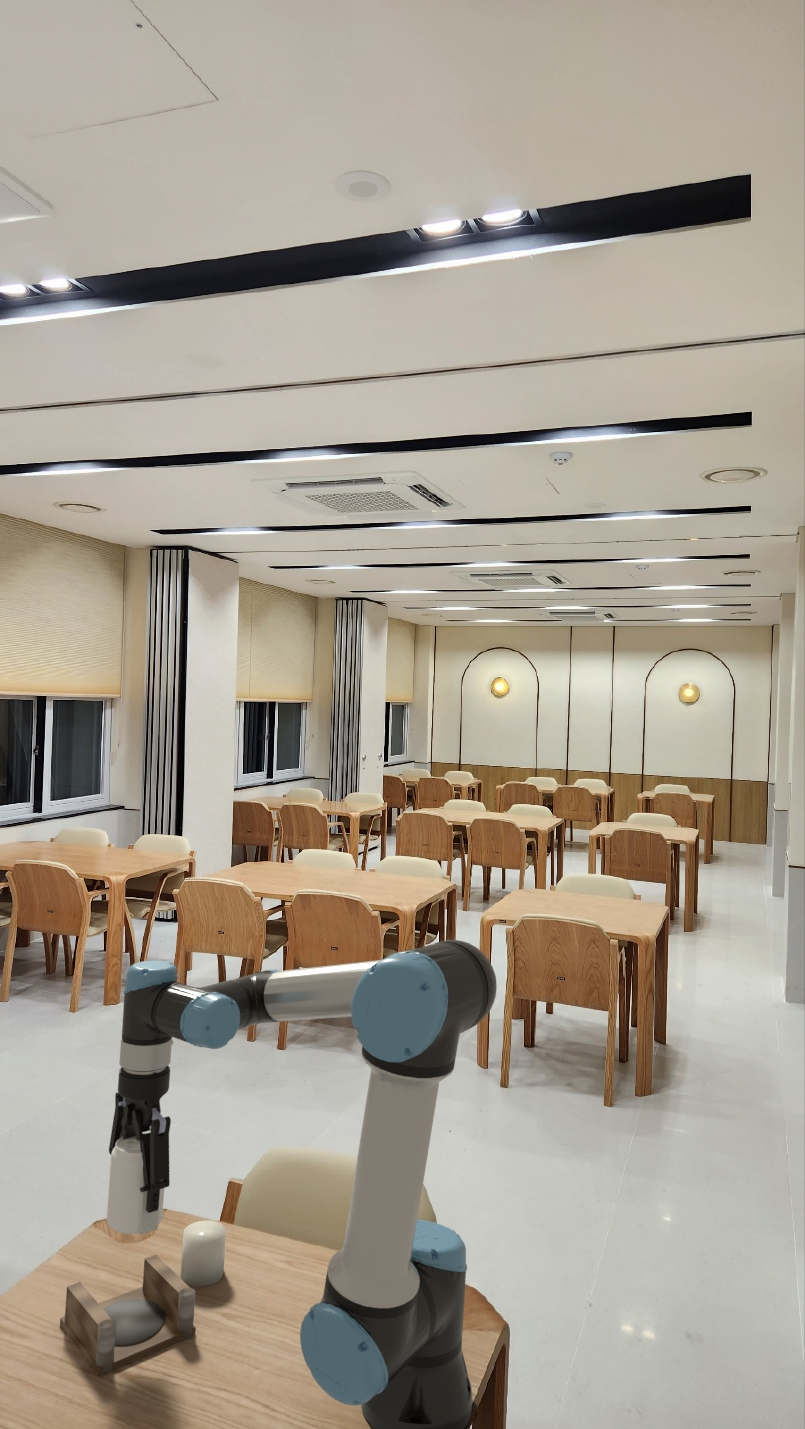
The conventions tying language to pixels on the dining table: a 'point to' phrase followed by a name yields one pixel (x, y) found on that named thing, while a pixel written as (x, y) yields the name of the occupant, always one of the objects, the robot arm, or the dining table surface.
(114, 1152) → the beverage can
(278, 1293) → the dining table surface
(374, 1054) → the robot arm
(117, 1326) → the wooden holder
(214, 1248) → the white pillar candle
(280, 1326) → the dining table surface
